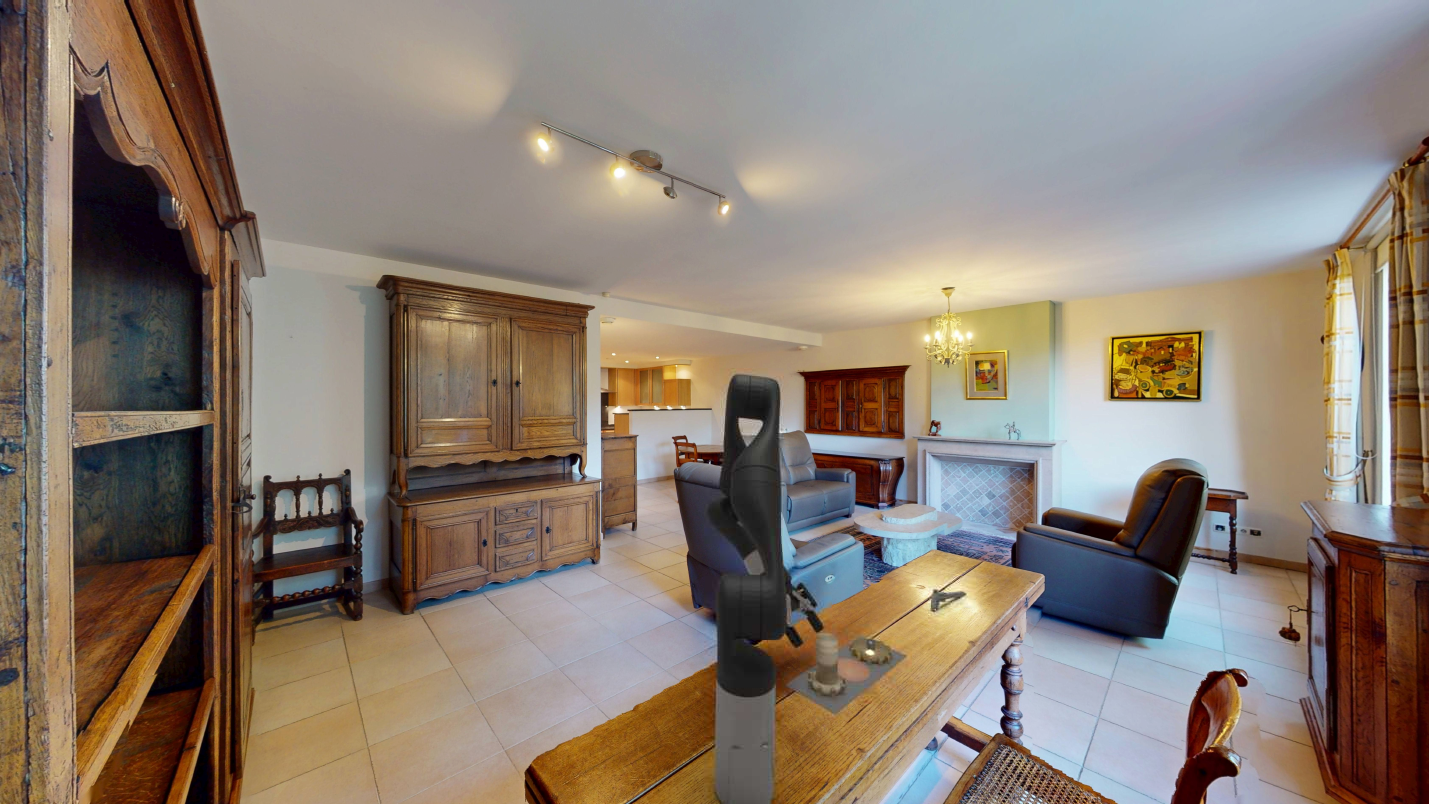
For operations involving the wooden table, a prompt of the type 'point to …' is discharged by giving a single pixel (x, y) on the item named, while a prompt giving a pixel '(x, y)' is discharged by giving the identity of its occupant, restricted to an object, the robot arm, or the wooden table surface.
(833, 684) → the beech gear spindle
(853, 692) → the gear board
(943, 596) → the caliper
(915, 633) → the wooden table surface
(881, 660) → the brass gear
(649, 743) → the wooden table surface
